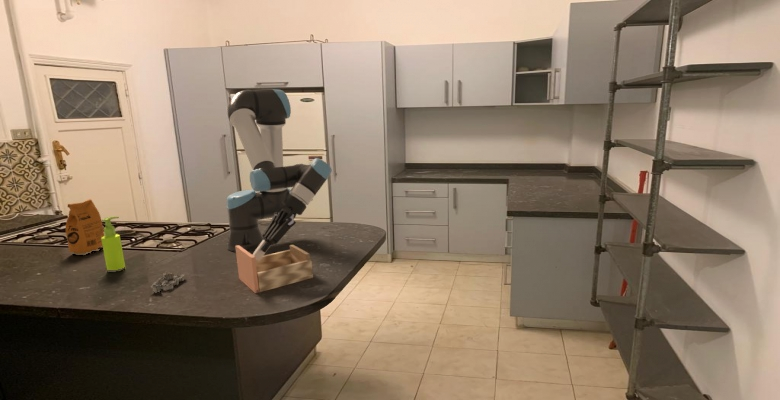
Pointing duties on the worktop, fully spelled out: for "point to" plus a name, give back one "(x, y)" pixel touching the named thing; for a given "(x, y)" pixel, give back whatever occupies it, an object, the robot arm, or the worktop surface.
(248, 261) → the panel
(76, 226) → the coffee package
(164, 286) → the egg carton
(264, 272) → the wooden open box
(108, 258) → the soap dispenser
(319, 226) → the worktop surface
